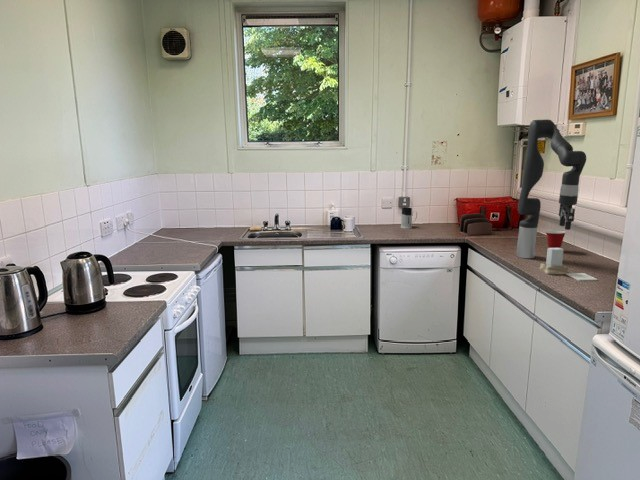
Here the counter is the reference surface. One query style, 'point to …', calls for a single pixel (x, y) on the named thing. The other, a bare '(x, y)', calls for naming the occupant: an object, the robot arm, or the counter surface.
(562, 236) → the plastic cup
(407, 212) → the tall grey mug
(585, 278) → the pad
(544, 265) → the collar
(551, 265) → the skincare box
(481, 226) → the letter holder
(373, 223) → the counter surface
